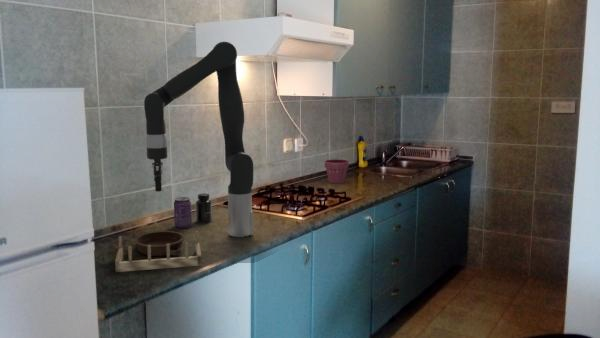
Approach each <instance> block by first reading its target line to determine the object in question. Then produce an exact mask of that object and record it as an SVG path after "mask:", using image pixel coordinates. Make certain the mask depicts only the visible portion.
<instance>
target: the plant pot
mask: <svg viewBox="0 0 600 338" xmlns="http://www.w3.org/2000/svg"><path fill="white" fill-rule="evenodd" d="M349 163H350V162H349V160H347V159H338V158H337V159H326V160H324V167H325V169H326V174H327V175H326V176H327V179H328V183H330V184H343V183H345V180H346V175H347V171H348V168H349V166H350V165H349Z"/></svg>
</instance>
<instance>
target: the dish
mask: <svg viewBox="0 0 600 338" xmlns="http://www.w3.org/2000/svg"><path fill="white" fill-rule="evenodd" d="M185 238H186V237H185V235H184V234H182V233H180V232H176V231H171V230H168V231H167V230H161V231H151V232H147V233H143V234H141V235H138V236H136V237H135V238H134V240H133V241H134V243H135V244H136V247H137V250H138V252H139V253H141V254H142V255H146V256H148V248H147V245H151V257H152V256H153V257H163V256H164V257H165V256H166V257H167V249H166V244H169V245H170V256H178V255H180V254H181V247H182V245H183V241H184V240H186V239H185Z"/></svg>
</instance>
